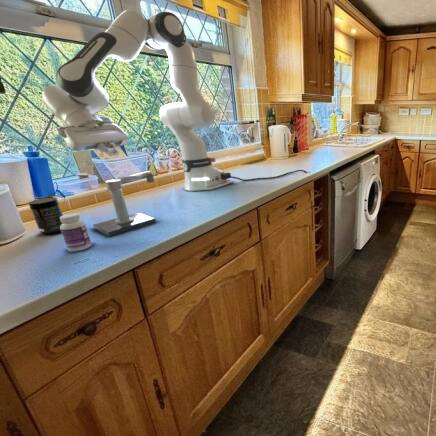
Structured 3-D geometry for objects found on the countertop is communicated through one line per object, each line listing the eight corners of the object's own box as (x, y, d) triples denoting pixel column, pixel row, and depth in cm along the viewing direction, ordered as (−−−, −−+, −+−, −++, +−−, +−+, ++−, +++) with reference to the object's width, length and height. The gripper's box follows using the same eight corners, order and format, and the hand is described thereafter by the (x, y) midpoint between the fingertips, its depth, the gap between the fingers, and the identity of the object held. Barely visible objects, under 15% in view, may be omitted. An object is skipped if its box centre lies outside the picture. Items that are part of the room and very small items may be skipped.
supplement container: (73, 228, 100) (62, 197, 96) (51, 236, 93) (39, 204, 90) (57, 227, 101) (46, 197, 97) (35, 235, 95) (22, 203, 91)
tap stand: (139, 216, 109) (130, 183, 105) (155, 222, 102) (147, 187, 98) (94, 228, 98) (82, 192, 94) (109, 236, 92) (97, 198, 87)
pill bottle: (94, 247, 85) (83, 214, 81) (70, 253, 81) (58, 220, 78) (89, 242, 88) (79, 211, 85) (66, 248, 84) (54, 216, 81)
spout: (115, 194, 94) (111, 181, 93) (105, 193, 95) (101, 181, 94) (157, 181, 109) (155, 170, 108) (148, 181, 110) (146, 170, 109)
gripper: (55, 120, 95) (88, 151, 96) (114, 117, 113) (141, 144, 114) (50, 134, 98) (82, 165, 98) (108, 130, 116) (135, 156, 117)
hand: (114, 154), depth 106 cm, fingers closed
